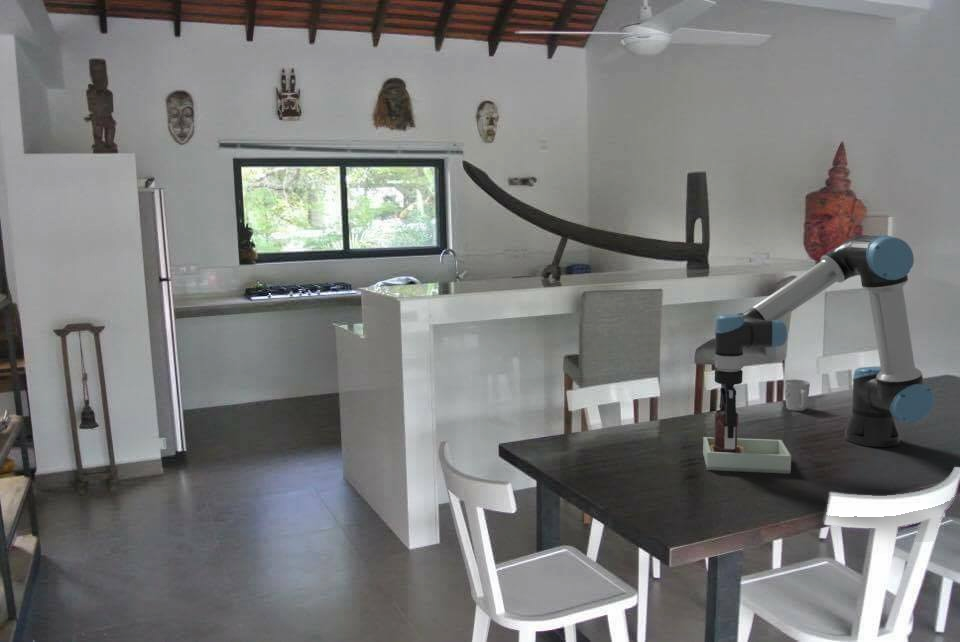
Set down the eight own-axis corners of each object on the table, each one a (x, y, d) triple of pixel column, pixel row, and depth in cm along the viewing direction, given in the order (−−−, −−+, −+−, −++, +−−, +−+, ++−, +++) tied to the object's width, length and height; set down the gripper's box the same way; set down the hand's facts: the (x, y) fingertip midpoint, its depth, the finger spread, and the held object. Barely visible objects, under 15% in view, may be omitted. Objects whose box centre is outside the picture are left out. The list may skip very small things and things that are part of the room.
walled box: (780, 456, 219) (781, 439, 219) (790, 473, 205) (791, 456, 204) (703, 453, 224) (703, 437, 223) (707, 469, 209) (707, 452, 209)
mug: (816, 413, 264) (817, 386, 262) (792, 414, 264) (793, 386, 262) (802, 405, 275) (803, 379, 273) (779, 406, 275) (780, 379, 274)
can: (738, 462, 211) (739, 414, 210) (715, 461, 213) (716, 414, 211) (736, 456, 217) (737, 409, 216) (713, 455, 219) (714, 408, 217)
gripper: (711, 360, 224) (709, 428, 227) (719, 378, 200) (717, 454, 203) (737, 360, 223) (735, 429, 226) (748, 378, 199) (746, 455, 202)
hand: (727, 441), depth 215 cm, fingers open, 13 cm apart
